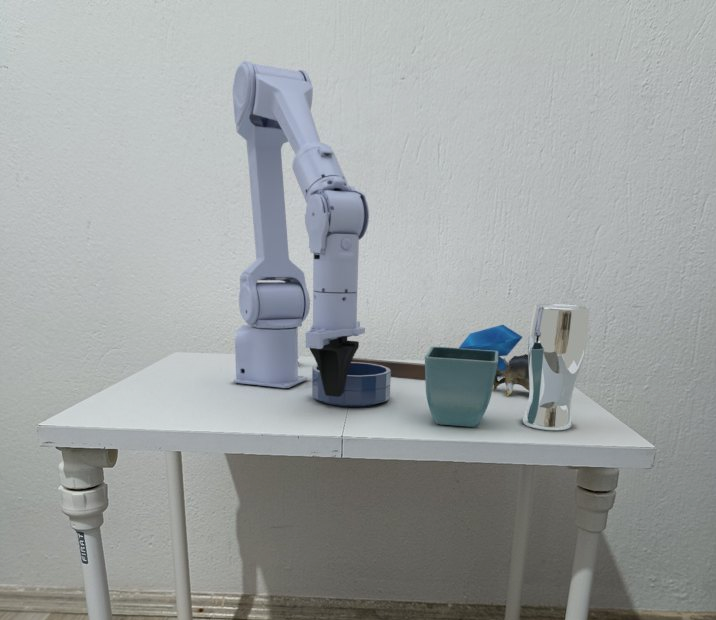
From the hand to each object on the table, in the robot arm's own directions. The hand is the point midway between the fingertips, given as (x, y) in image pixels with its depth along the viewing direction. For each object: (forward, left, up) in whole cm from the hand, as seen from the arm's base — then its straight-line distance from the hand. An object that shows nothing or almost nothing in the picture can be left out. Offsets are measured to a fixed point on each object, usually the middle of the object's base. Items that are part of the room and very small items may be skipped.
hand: (333, 395), depth 90 cm
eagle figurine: (+22, +22, -2) cm, 31 cm away
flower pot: (+17, +1, -2) cm, 17 cm away
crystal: (+15, +37, -2) cm, 40 cm away
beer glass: (+28, +5, -2) cm, 29 cm away
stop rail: (0, +27, -2) cm, 27 cm away
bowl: (0, +7, -2) cm, 7 cm away
